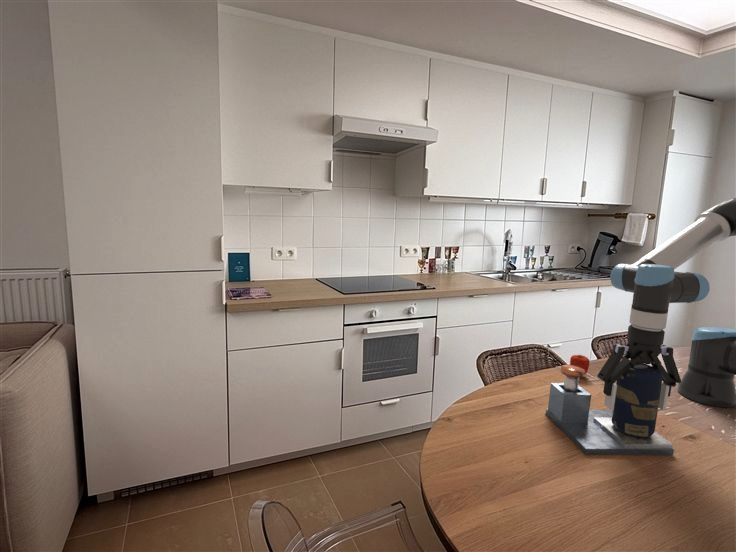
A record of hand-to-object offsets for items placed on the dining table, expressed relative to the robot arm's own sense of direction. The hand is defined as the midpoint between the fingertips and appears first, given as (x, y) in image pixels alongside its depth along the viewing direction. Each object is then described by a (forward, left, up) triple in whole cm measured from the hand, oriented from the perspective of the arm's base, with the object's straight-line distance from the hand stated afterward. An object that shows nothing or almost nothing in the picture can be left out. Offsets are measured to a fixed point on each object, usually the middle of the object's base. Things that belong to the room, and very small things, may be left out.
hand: (634, 407), depth 105 cm
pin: (+12, -9, -2) cm, 15 cm away
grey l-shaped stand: (+5, -3, -9) cm, 10 cm away
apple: (-10, -42, -9) cm, 44 cm away
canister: (0, 0, -6) cm, 6 cm away
